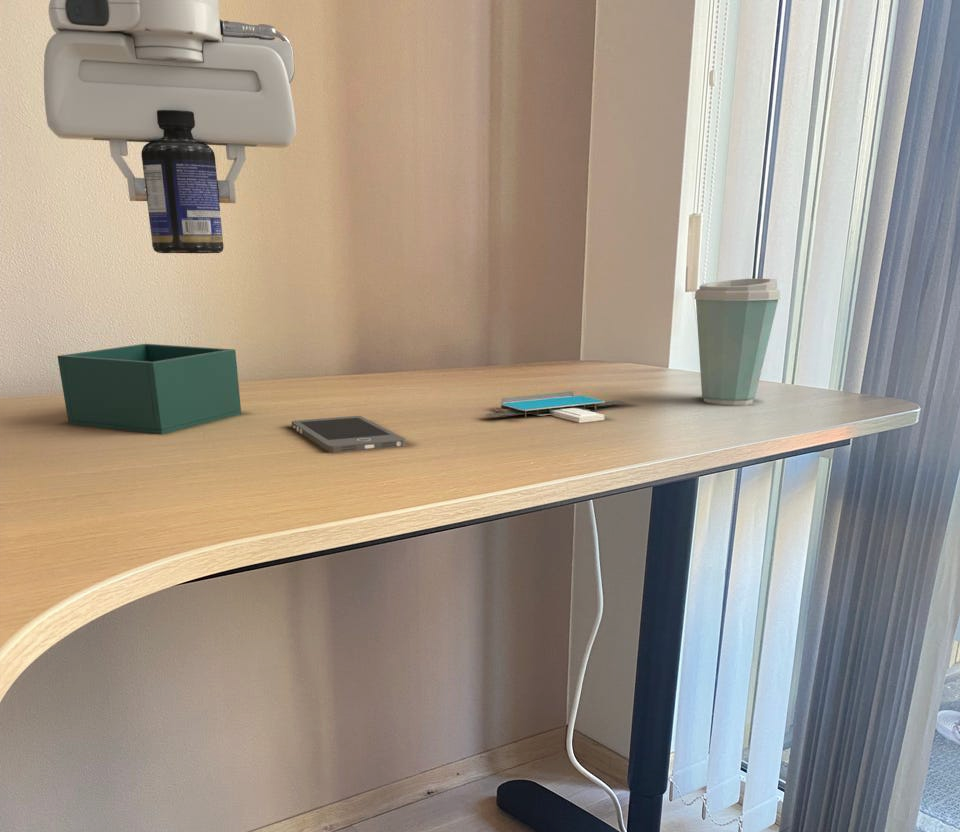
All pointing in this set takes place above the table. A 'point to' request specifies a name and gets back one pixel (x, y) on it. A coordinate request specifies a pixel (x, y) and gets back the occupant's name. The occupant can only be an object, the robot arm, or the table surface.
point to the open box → (150, 387)
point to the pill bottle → (181, 188)
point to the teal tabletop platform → (553, 406)
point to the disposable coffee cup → (734, 337)
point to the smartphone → (347, 434)
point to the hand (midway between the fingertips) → (182, 202)
